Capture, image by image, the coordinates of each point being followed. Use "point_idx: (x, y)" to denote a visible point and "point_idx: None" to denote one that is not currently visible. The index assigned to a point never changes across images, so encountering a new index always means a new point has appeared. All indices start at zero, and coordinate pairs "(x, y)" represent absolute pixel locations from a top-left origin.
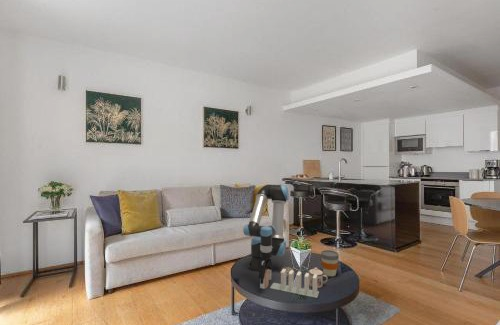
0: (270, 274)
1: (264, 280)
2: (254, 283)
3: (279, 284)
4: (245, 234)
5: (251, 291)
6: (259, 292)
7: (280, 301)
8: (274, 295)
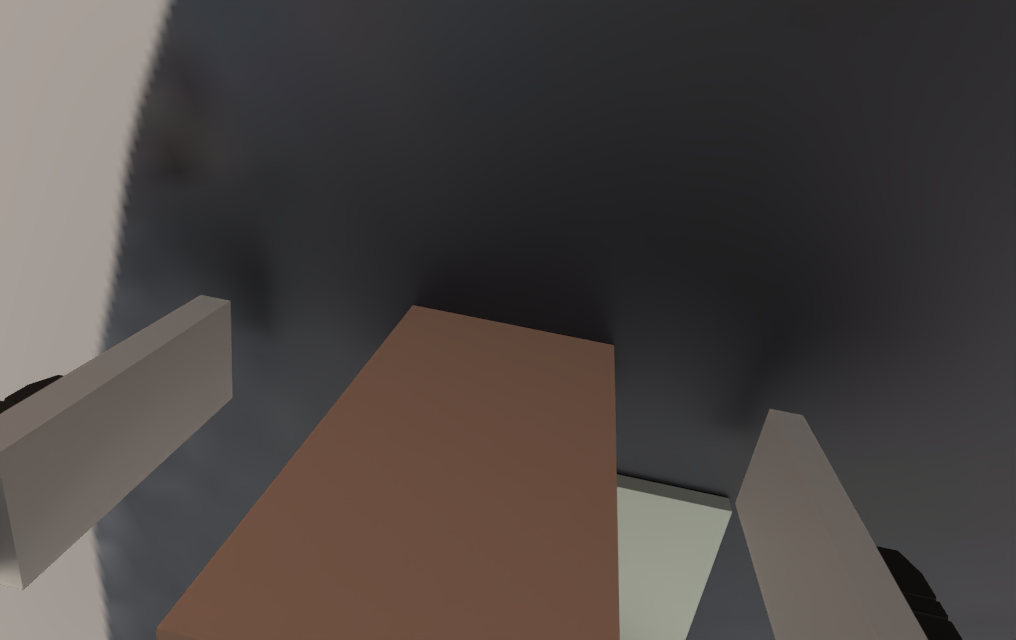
0: (772, 605)
1: (90, 524)
2: (651, 24)
3: (659, 617)
4: None
5: (203, 54)
6: (238, 254)
7: (123, 609)
8: None
